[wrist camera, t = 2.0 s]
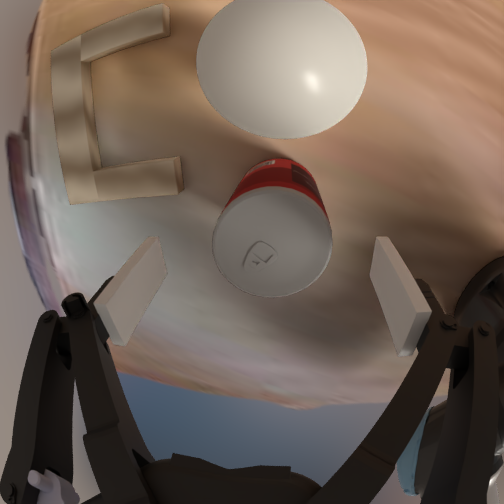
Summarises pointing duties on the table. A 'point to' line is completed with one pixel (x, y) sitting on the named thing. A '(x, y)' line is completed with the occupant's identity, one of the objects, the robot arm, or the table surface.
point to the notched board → (83, 121)
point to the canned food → (273, 231)
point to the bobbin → (281, 66)
